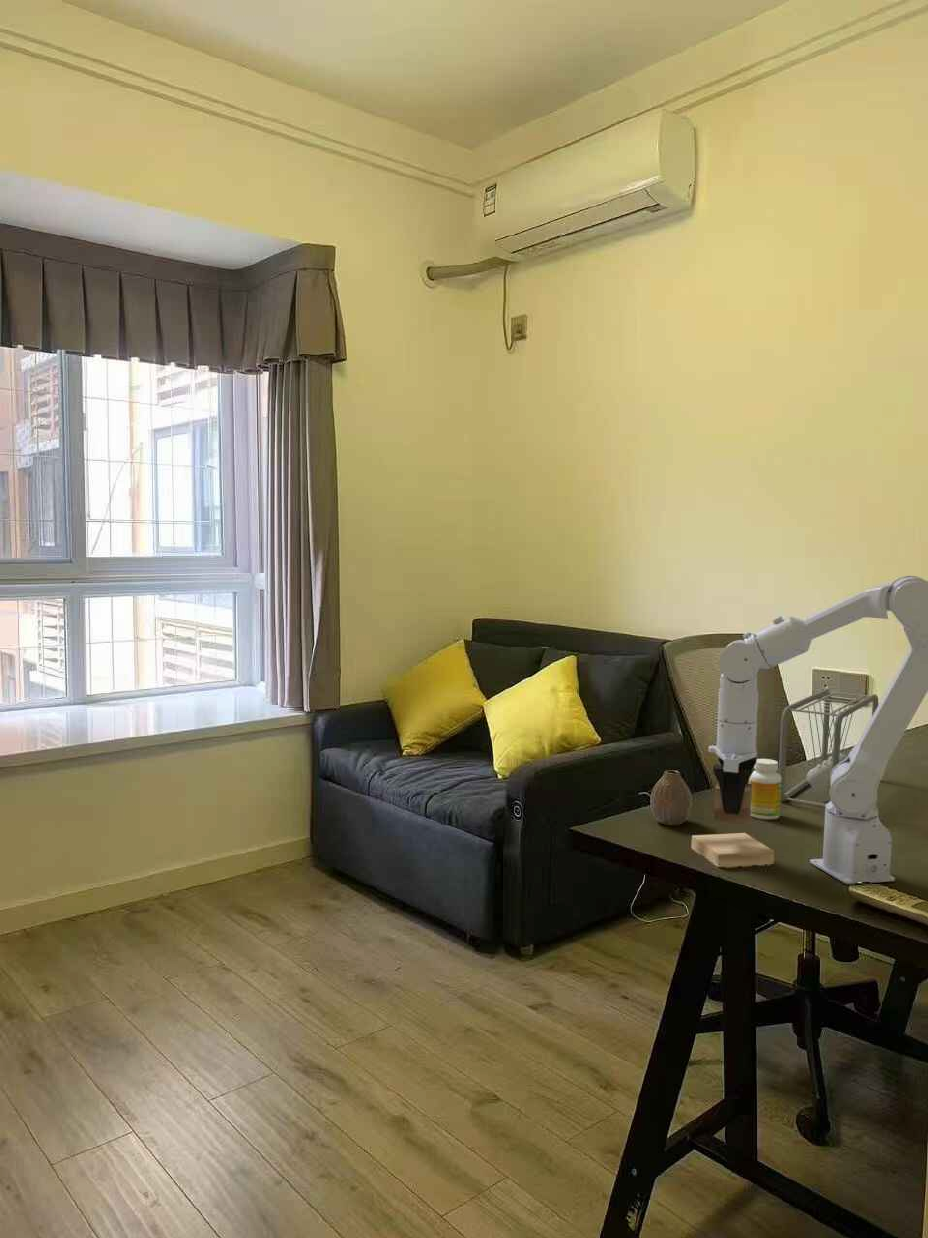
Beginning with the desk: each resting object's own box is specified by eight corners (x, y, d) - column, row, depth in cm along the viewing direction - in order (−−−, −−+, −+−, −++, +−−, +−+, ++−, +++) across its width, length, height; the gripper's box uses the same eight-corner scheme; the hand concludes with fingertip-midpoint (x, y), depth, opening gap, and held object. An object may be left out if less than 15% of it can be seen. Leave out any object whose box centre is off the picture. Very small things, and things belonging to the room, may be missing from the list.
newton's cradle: (835, 813, 174) (840, 714, 173) (776, 803, 180) (781, 707, 179) (874, 779, 199) (879, 693, 197) (821, 771, 205) (826, 687, 203)
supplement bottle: (781, 821, 169) (784, 765, 168) (749, 819, 170) (751, 763, 169) (778, 812, 174) (780, 758, 173) (746, 810, 175) (749, 756, 174)
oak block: (773, 867, 147) (774, 851, 146) (717, 871, 145) (718, 854, 145) (744, 848, 155) (744, 832, 155) (691, 851, 154) (691, 835, 153)
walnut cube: (747, 824, 146) (749, 791, 146) (713, 820, 148) (714, 788, 148) (750, 815, 151) (752, 784, 151) (717, 812, 153) (718, 780, 152)
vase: (696, 820, 168) (698, 770, 168) (683, 831, 162) (685, 778, 162) (657, 814, 172) (659, 764, 171) (643, 824, 166) (645, 773, 165)
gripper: (715, 710, 156) (712, 793, 158) (704, 726, 143) (700, 818, 144) (761, 713, 154) (757, 798, 155) (754, 731, 140) (750, 824, 142)
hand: (733, 808), depth 149 cm, fingers closed on walnut cube, 5 cm apart
